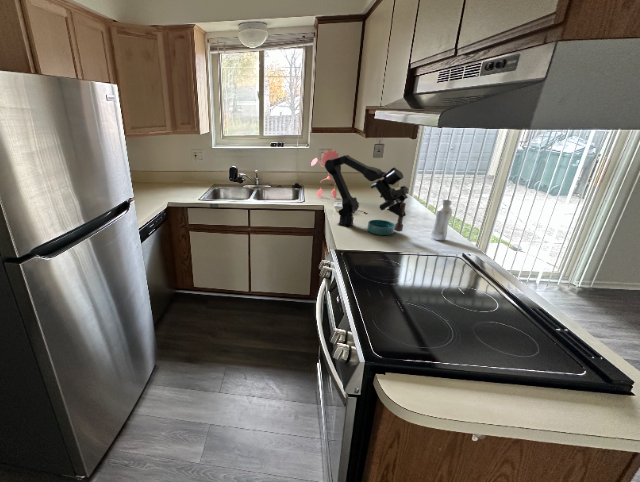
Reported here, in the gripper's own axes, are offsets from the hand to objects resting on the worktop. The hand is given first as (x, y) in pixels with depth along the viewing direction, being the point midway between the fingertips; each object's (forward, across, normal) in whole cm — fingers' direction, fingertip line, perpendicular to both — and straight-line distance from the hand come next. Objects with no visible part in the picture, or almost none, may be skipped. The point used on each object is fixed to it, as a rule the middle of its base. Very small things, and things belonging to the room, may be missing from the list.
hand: (403, 216), depth 156 cm
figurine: (-41, +39, +59) cm, 82 cm away
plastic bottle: (+18, +14, 0) cm, 23 cm away
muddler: (+4, 0, +6) cm, 8 cm away
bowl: (0, +4, +17) cm, 17 cm away
